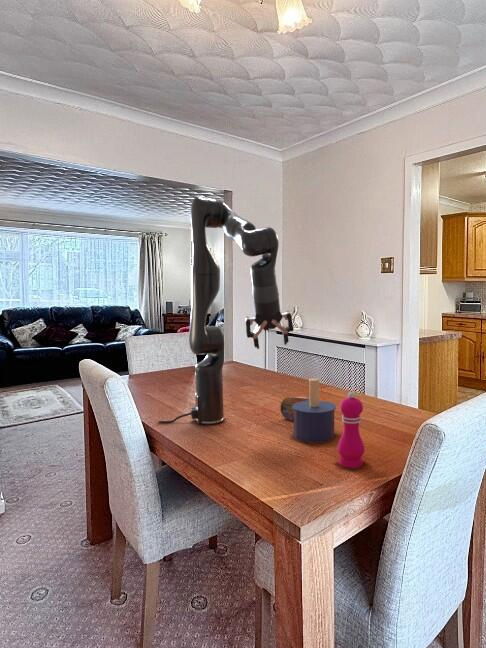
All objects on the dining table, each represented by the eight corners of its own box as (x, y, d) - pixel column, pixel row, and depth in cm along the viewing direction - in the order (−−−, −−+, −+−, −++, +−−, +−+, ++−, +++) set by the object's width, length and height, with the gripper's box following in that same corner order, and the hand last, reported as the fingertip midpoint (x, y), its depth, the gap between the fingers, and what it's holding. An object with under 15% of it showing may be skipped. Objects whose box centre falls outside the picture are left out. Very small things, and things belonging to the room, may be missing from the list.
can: (302, 445, 136) (302, 415, 135) (288, 432, 148) (288, 404, 147) (340, 440, 141) (340, 410, 139) (324, 428, 152) (324, 400, 151)
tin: (280, 419, 162) (279, 396, 161) (283, 416, 165) (283, 394, 164) (319, 424, 157) (320, 400, 155) (323, 421, 160) (323, 398, 158)
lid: (301, 417, 134) (301, 386, 133) (286, 406, 147) (286, 376, 146) (343, 413, 139) (343, 382, 138) (325, 401, 152) (325, 373, 150)
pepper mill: (335, 459, 126) (335, 388, 123) (361, 458, 126) (362, 388, 124) (339, 470, 119) (340, 395, 116) (367, 469, 119) (368, 395, 116)
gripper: (287, 289, 139) (292, 337, 146) (240, 295, 137) (247, 343, 144) (291, 298, 132) (296, 347, 139) (242, 305, 130) (249, 354, 137)
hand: (271, 345), depth 142 cm, fingers open, 8 cm apart
